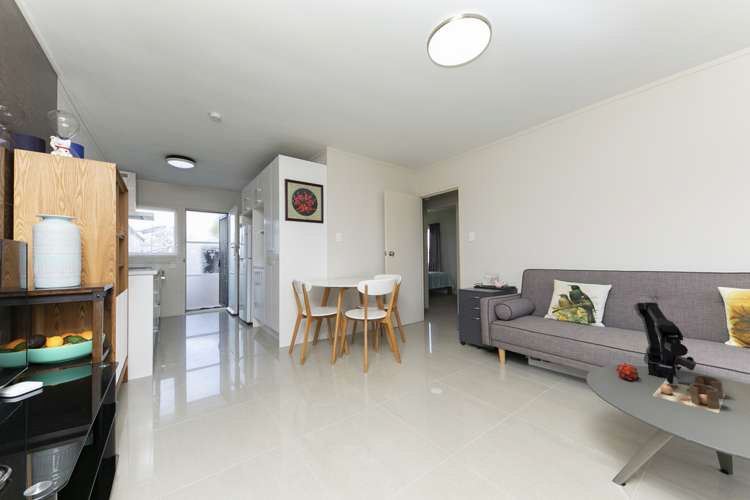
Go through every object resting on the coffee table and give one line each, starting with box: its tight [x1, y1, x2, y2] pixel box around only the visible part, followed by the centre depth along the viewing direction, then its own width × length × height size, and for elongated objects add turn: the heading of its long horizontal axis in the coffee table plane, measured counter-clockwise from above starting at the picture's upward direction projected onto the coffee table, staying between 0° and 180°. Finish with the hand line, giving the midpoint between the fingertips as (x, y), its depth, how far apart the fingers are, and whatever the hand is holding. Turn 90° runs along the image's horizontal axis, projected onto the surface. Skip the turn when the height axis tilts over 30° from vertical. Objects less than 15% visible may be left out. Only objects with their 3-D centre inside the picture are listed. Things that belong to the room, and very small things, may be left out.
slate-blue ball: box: [665, 376, 679, 384], centre depth 134 cm, size 4×4×4 cm
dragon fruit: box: [615, 362, 640, 381], centre depth 145 cm, size 8×8×12 cm
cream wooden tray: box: [652, 375, 726, 414], centre depth 125 cm, size 19×26×8 cm
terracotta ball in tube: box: [699, 394, 708, 405], centre depth 117 cm, size 4×4×4 cm
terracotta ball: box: [659, 384, 673, 394], centre depth 127 cm, size 4×4×4 cm
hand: (671, 382), depth 133 cm, fingers closed on slate-blue ball, 4 cm apart
